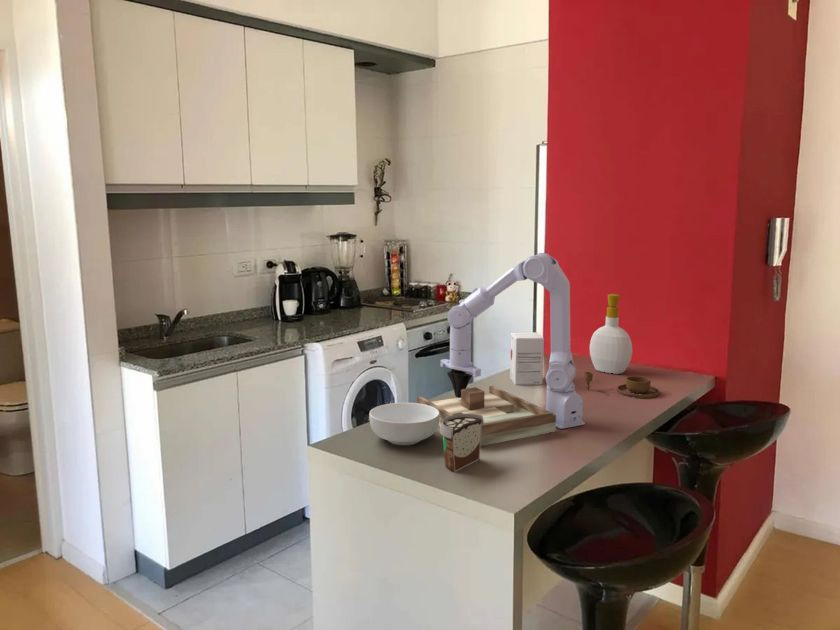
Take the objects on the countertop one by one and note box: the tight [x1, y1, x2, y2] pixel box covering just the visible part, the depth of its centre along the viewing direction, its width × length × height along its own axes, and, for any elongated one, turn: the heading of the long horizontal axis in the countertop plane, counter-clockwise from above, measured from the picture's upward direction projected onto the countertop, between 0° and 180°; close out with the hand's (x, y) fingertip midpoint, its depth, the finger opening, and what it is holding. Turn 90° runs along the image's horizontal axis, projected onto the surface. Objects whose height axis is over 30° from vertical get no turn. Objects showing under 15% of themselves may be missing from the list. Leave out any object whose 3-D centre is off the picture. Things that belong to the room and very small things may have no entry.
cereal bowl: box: [368, 402, 440, 446], centre depth 166 cm, size 17×17×7 cm
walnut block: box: [461, 387, 486, 410], centre depth 184 cm, size 4×4×4 cm
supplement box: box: [509, 331, 545, 386], centre depth 217 cm, size 9×9×15 cm
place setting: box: [583, 371, 660, 399], centre depth 208 cm, size 18×20×6 cm
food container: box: [439, 414, 484, 473], centre depth 152 cm, size 12×6×10 cm, turn 141°
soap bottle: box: [589, 293, 633, 375], centre depth 228 cm, size 14×9×26 cm, turn 52°
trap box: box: [416, 385, 556, 447], centre depth 179 cm, size 29×24×5 cm
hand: (459, 396), depth 190 cm, fingers closed
